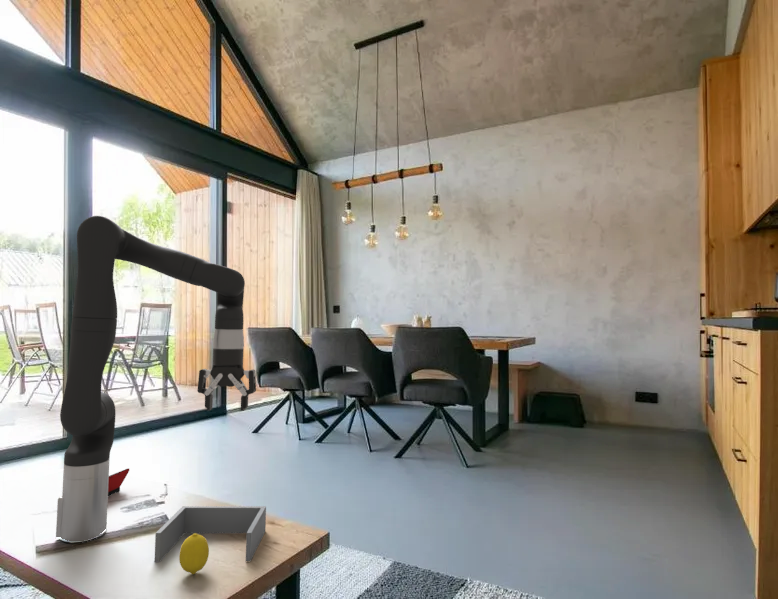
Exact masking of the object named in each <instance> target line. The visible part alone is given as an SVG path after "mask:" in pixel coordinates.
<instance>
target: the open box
mask: <svg viewBox="0 0 778 599" xmlns="http://www.w3.org/2000/svg"><path fill="white" fill-rule="evenodd" d="M266 517H267V506H266V505H265V506H264V505H261V506H260V505H259V506H258V505H251V506H250V505H246V506H244V505H243V506H241V505H238V506H236V505H235V506H234V505H231V506H230V505H229V506H228V505H227V506H225V505H224V506H223V505H221V506H220V505H219V506H217V505H214V506H213V505H210V506H209V505H208V506H207V505H206V506H204V505H203V506H199V505H198V506H197V505H195V506H193V505H191V506H190V505H187V506H186V505H185V506H181V507H180V508H179V509H178V510H177V511H176V512H175V513H174V514H173V515H172V516H171V517H170V518H169V519H168V520H167V521H166V522H165V523H164V524H163V525H162V526H161V527H160V528H159V529H158V530H157V531H156V532H155V537H154V538H155V542H154V561H153V562H154V563H160V562H161V561H162V560H163V558H165V556H166V555H167V554H168V553H169V552H170V550H171V549H172V548H173V547H174V546H175V545H176V544H177V542H179V541H180V539H181V538H182V537H183V536H184V534H194V533H197V534H245V535H246V536H245V539H246V540H245V541H246V542H245V562H246V561H250V562H251V561H252V559H253V558H254V555H255V553H256V551H257V549H258V547H259V545H260V543H261V541H262V539H263V537H264V535H265V533H266V521H267V518H266Z"/></svg>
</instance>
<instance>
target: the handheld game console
mask: <svg viewBox="0 0 778 599" xmlns="http://www.w3.org/2000/svg"><path fill="white" fill-rule="evenodd" d="M129 472H130V468H125V469H123V470H120V471H118V472H116V473H113V474H111V475H110V474H109V482H108V497H110V496H113V495H114V494H117V493H119V492H120V491H121V486H122V484H123V482H124V481H125V479H126V477H127V475H128V473H129Z"/></svg>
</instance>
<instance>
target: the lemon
mask: <svg viewBox="0 0 778 599" xmlns="http://www.w3.org/2000/svg"><path fill="white" fill-rule="evenodd" d="M209 554H210V546H209V542H208V540H207V539H206V537H204V536H203V535H201V534H200V533H192V534H191V535H190V536H188V537H187V538H185V539H184V541H183V542H182V544H181V546H180V550H179V559H178V560H179V565H180V567H181V569H182V570H183V571H185V572H186V573H190V574H191V575H195V574H197V572H199V571H201V570H202V569H203V568H204V567H205V565H206V564H207V562H208V561H209V560H208V559H209Z"/></svg>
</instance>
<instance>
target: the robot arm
mask: <svg viewBox="0 0 778 599" xmlns="http://www.w3.org/2000/svg"><path fill="white" fill-rule="evenodd" d="M76 232H77V233H76V250H77V252H76V253H77V278H76V285H75V291H74V299H73V309H72V315H71V326H70V341H69V342H70V343H69V344H70V345H69V351H68V352H69V354H68V367H67V368H68V370H67V377H66V383H65V387H64V388H65V389H64V393H63V398H62V402H61V407H60V414H59V415H60V416H59V418H60V419H59V420H60V423H61V426H62V427H63V429H64V431H65V432H67V433H68V434H69V435H72V437H71V442H70V444H69V446H68V448H66V450H65V452H64V457H63V471H62V472H63V475H62V476H63V477H62V491H61V492H62V495H61V496H59V497H58V499H57V507H56V508H57V509H56V525H55V527H56V528H55V538H56V537H61V538H62V539H65V540H67V541H68V540H69V541H84V540H88V539H91V538H94V537H96V536H97V535H99V534H100V533H102V532H103V531H104V530H105V529H106V530H107V524H108V523H107V522H108V521H107V520H108V504H109V503H108V502H109V500H108V499H109V496H108V482H109V476H110V454H111V449H112V447H113V444H114V440H115V439H114V438H115V427H116V405H115V401H114V400H113V398H112V397H111V396H110V395H109V394H107V393H105V392H103V391H102V384H103V374H104V370H105V367H106V364H107V363H108V359H109V358H110V355H111V353H112V350H113V347H114V344H115V340H116V335H117V325H118V324H117V323H118V304H117V297H116V296H117V295H116V292H115V284H114V269H115V268H114V267H115V263H116V262H115V260H120V261H123V262H124V261H125V262H128V263H133V264H136V265H140V266H143V267H146V268H148V269H151V270H153V271H155V272H158V273H160V274H162V275H165V276H168V277H170V278H172V279H176V280H178V281H180V282H184V283H186V284H190V285H193V286H198V287H202V288H205V289H207V290H209V291H210V290H211V292H212V291H213V292H215V293H216V311H215V316H214V332H213V333H214V334H213V339H212V341H213V342H212V368H211V369H206V368H203V369H200V370H199V372H198V380H197V382H198V383H197V392H198V393H199V394H203V396H204V408H205V409H206V411H211V410H213V404H214V403H213V400H214V398H213V397H214V396H213V393H214V391H215V390H216V389H217V388H218V387H222V388H223V387H228V388H229V387H230V388H231V387H235V388H236V389H237V391H239V393H240V394H241V397H240V411H243V412H244V411H246V409H247V408H248V407H249V395H251V394H254V393H256V390H257V382H256V381H257V380H256V379H257V377H256V374H257V373H256V370H255V369H250V370H249V369H248V370H245V368H244V348H245V341H244V340H245V337H244V336H245V335H244V311H243V310H244V309H243V308H244V306H243V305H244V296H245V295H244V294H245V284H246V283H245V281H246V280H245V278H244V276H243V274H242V273H241V272H239V271H238V270H236V269H233V268H230V267H227V266H225V265H224V266H223V265H220V264H217V263H212V262H209V261H207V260H205V259H202V258H201V257H198V256H195V255H192V254H190V253H187V252H183V251H180V250H177V249H174V248H171V247H167V246H163V245H159V244H155V243H152V242H149V241H147V240H144V239H141V238H139V237H137V236H135V235H134V234H133V233H130V232H129V231H127V230H125V229H123V228H122V227H121V226H120V225H119V224H118V223H116V222H115V221H114V220H112V219H110V218H108V217H106V216H102V215H93V216H90V217H87V218H85V219H84V220H83V221H82V222H81V223H80V225H79V226H78V229H77V231H76ZM210 376H211V377H212V379H213V381H212V382H211V383H210V384H209V386H208V388H206V386H207V378H209V377H210ZM244 376H245V377H246V379H248V388H247V387H246V384H245V383H244V381H243V380H242V378H243V377H244Z"/></svg>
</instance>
